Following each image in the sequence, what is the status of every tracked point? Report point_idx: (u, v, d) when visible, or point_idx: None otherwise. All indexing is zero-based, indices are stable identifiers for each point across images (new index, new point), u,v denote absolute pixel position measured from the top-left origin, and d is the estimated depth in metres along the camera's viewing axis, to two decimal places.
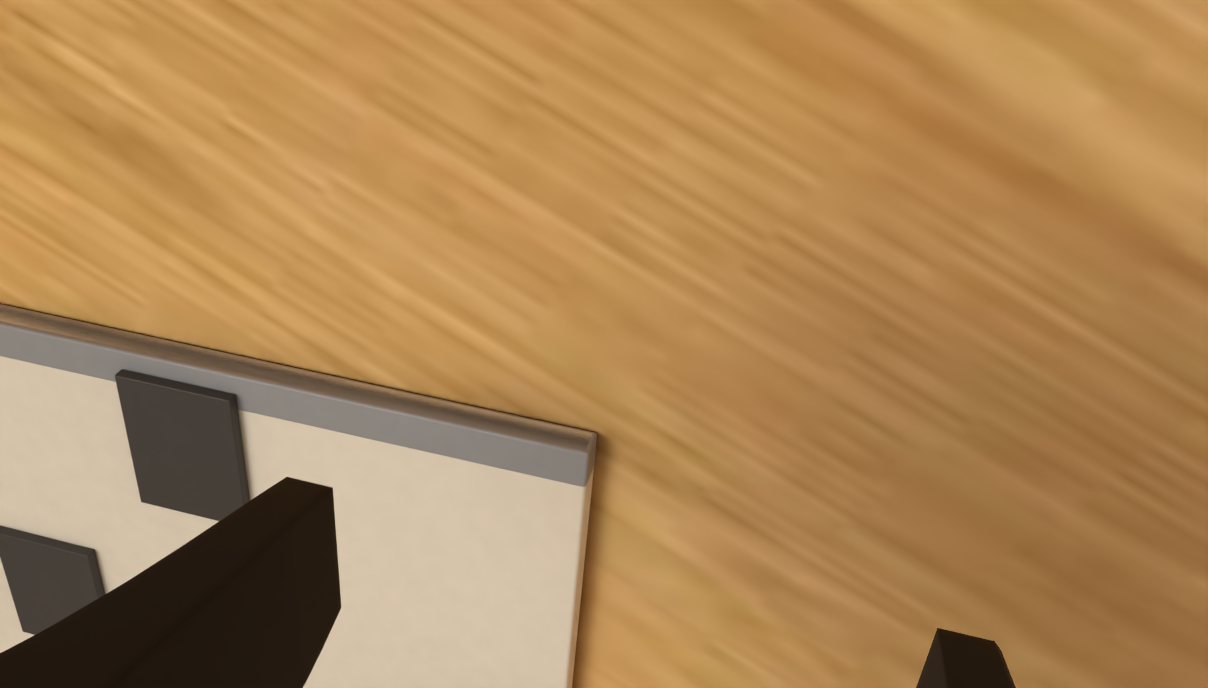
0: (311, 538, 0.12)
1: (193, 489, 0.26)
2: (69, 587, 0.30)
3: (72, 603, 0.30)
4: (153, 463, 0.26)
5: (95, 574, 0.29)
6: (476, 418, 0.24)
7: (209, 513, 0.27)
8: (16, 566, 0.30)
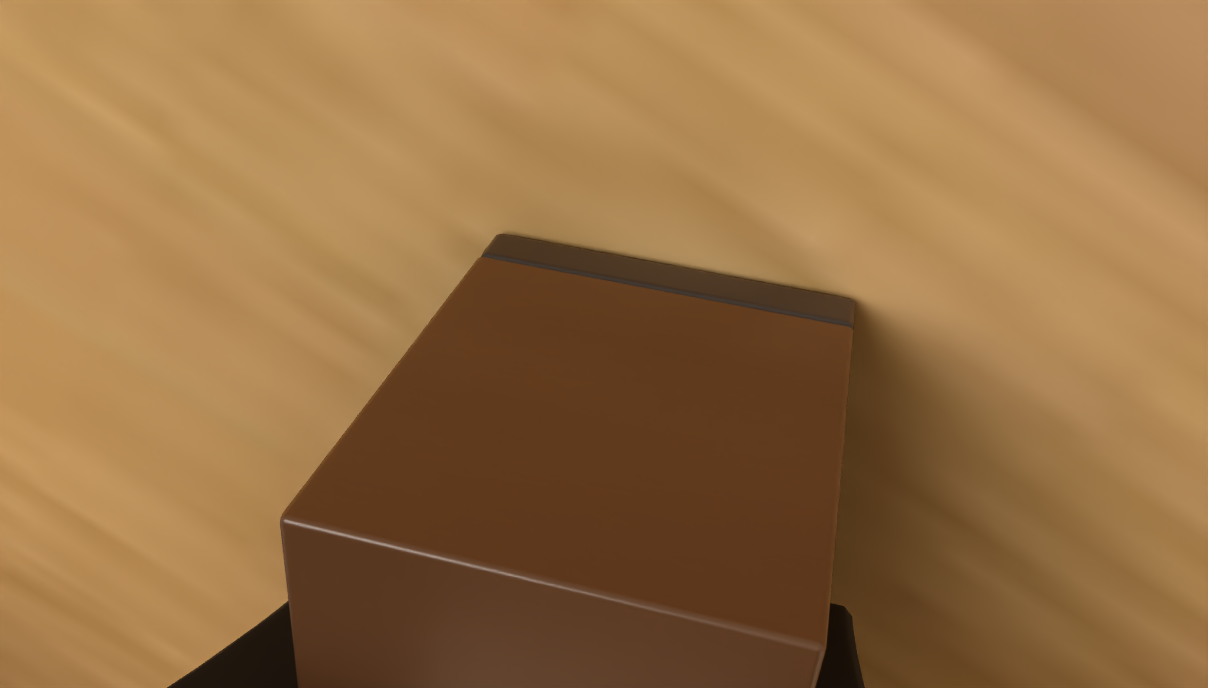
0: None
1: None
2: None
3: None
4: None
5: None
6: None
7: None
8: None
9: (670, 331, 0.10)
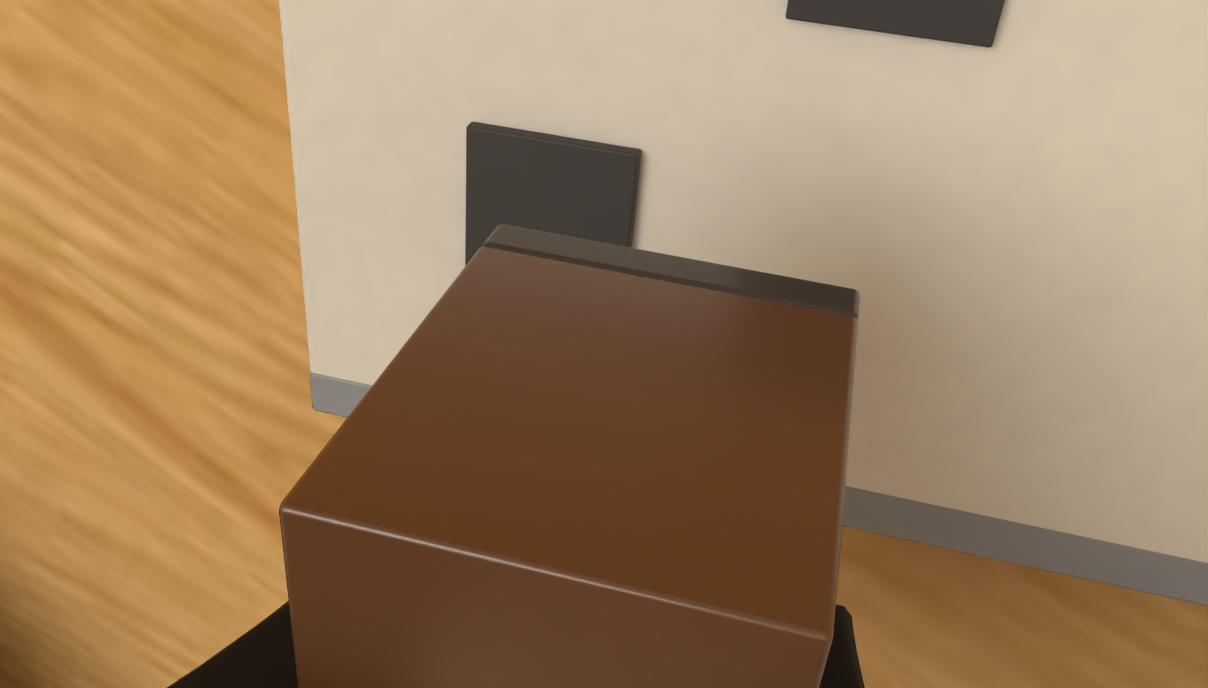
0: None
1: None
2: (580, 226, 0.18)
3: None
4: None
5: (635, 195, 0.18)
6: None
7: (922, 23, 0.15)
8: (492, 194, 0.18)
9: (672, 321, 0.10)
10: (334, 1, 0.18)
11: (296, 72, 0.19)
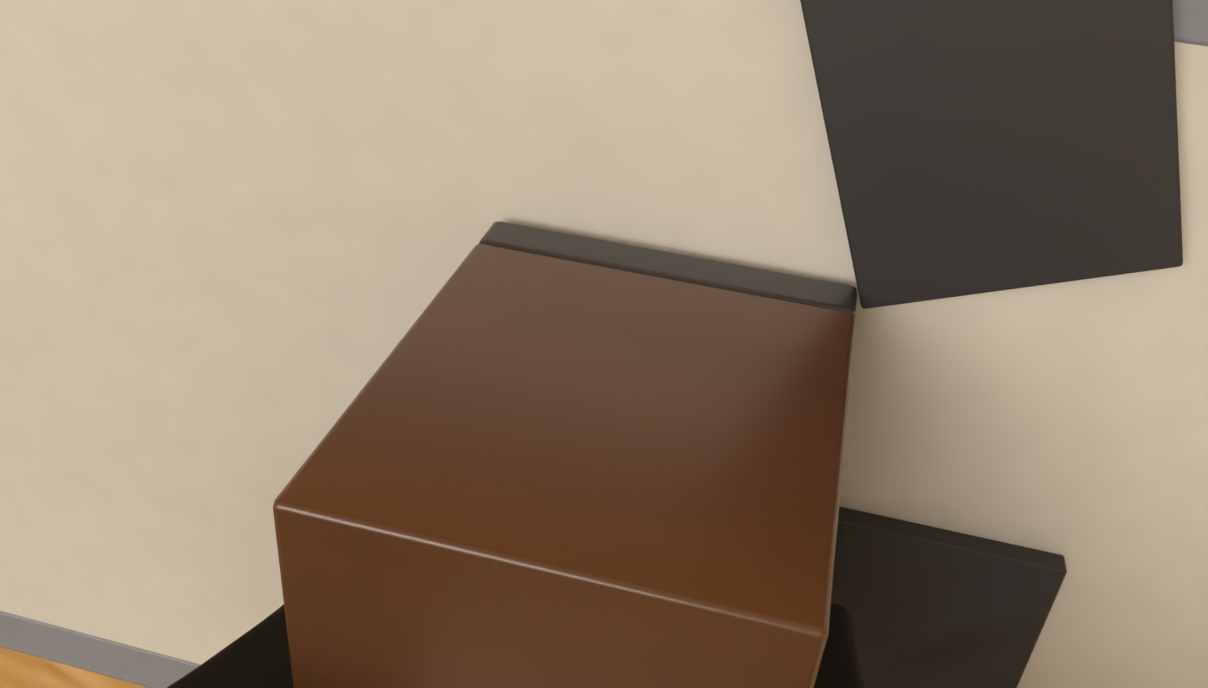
0: None
1: (1020, 203, 0.10)
2: (955, 642, 0.13)
3: (938, 677, 0.13)
4: (900, 169, 0.10)
5: (1047, 613, 0.13)
6: None
7: (1062, 265, 0.10)
8: None
9: (669, 319, 0.10)
10: None
11: None
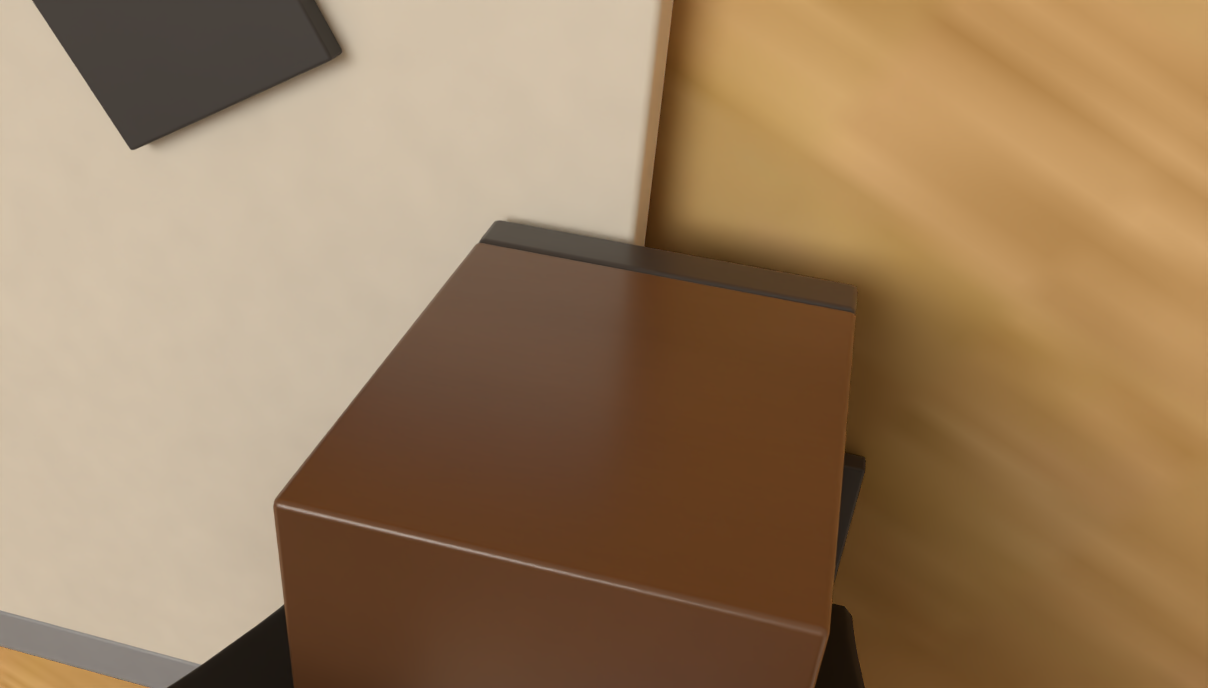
0: None
1: (187, 24, 0.11)
2: None
3: None
4: (89, 11, 0.11)
5: None
6: None
7: (246, 76, 0.11)
8: None
9: (670, 316, 0.10)
10: None
11: None
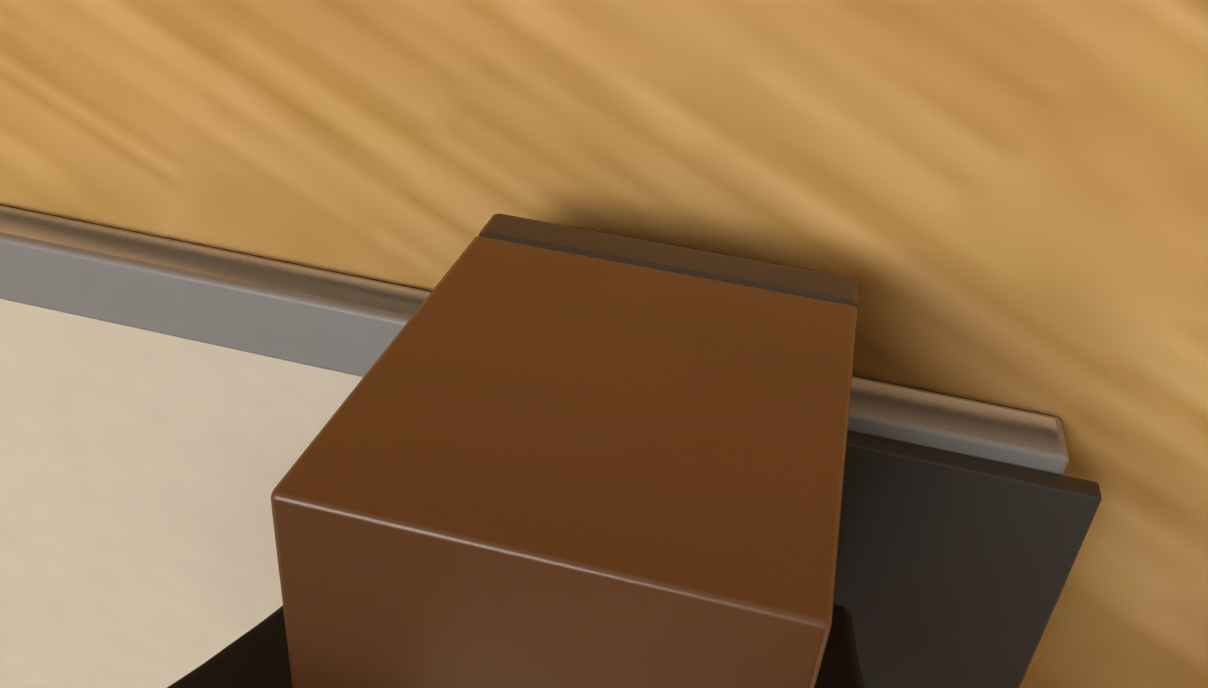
0: None
1: (908, 660, 0.13)
2: None
3: None
4: None
5: None
6: None
7: None
8: None
9: (670, 310, 0.10)
10: None
11: None
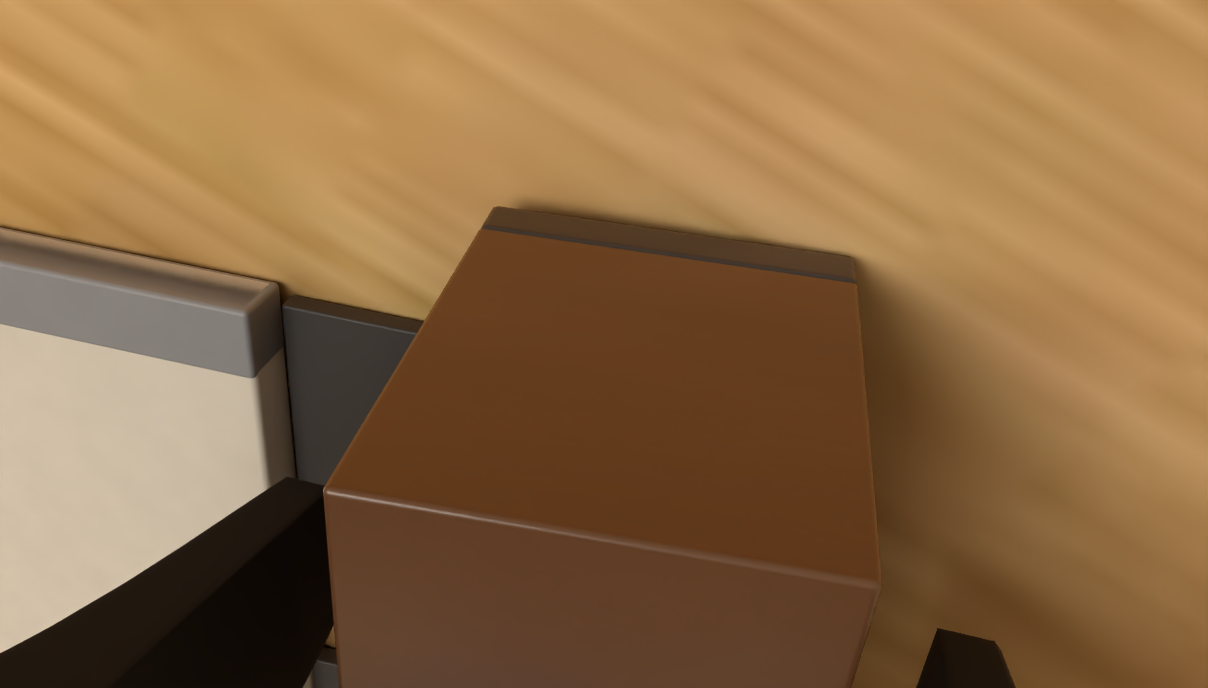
0: (311, 538, 0.12)
1: None
2: None
3: None
4: None
5: None
6: (63, 258, 0.13)
7: None
8: None
9: (680, 293, 0.10)
10: None
11: None
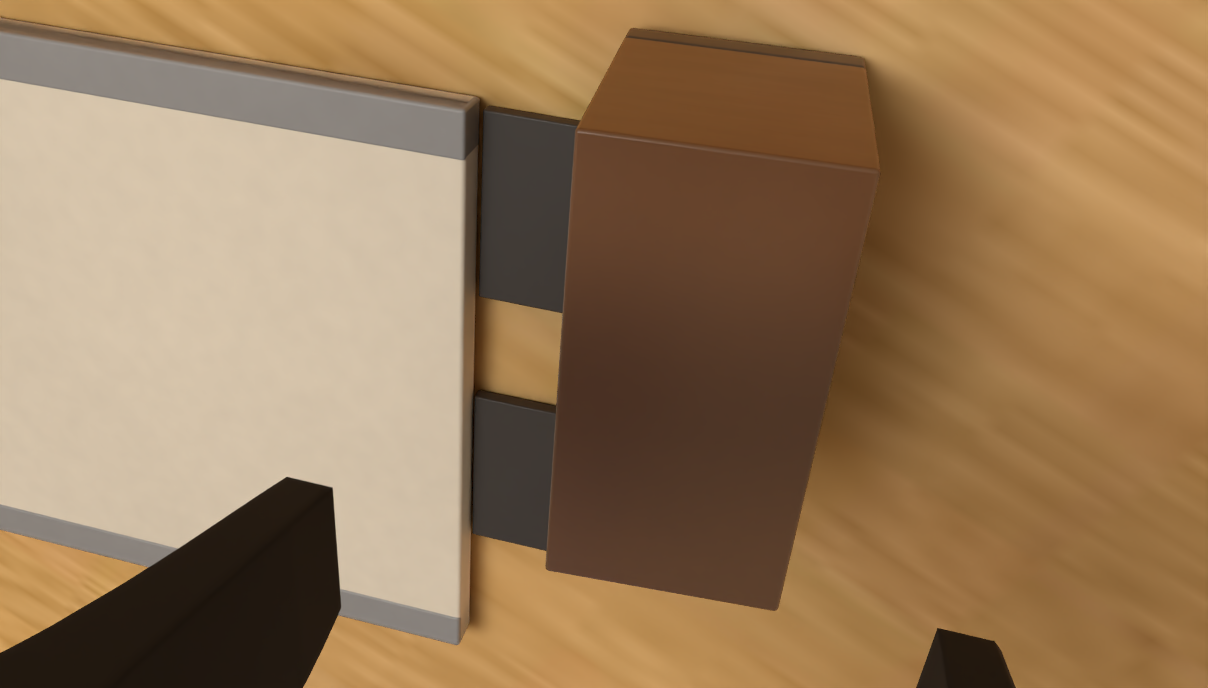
0: (311, 538, 0.12)
1: (557, 272, 0.21)
2: None
3: None
4: (509, 238, 0.21)
5: None
6: (333, 80, 0.20)
7: None
8: (494, 444, 0.24)
9: (757, 68, 0.17)
10: None
11: None
